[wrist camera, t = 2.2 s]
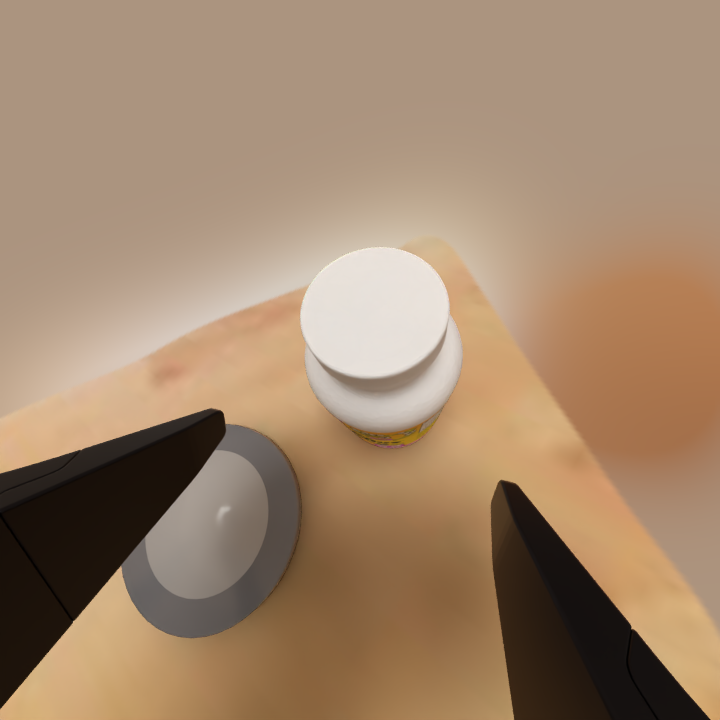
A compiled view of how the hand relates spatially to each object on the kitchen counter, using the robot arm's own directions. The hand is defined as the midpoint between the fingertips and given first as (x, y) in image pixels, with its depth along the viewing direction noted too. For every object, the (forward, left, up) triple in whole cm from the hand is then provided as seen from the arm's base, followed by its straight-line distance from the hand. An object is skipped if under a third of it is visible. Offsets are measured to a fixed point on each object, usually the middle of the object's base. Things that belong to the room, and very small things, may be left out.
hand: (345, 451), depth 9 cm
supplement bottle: (+4, 0, -11) cm, 12 cm away
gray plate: (-7, +9, -11) cm, 16 cm away
